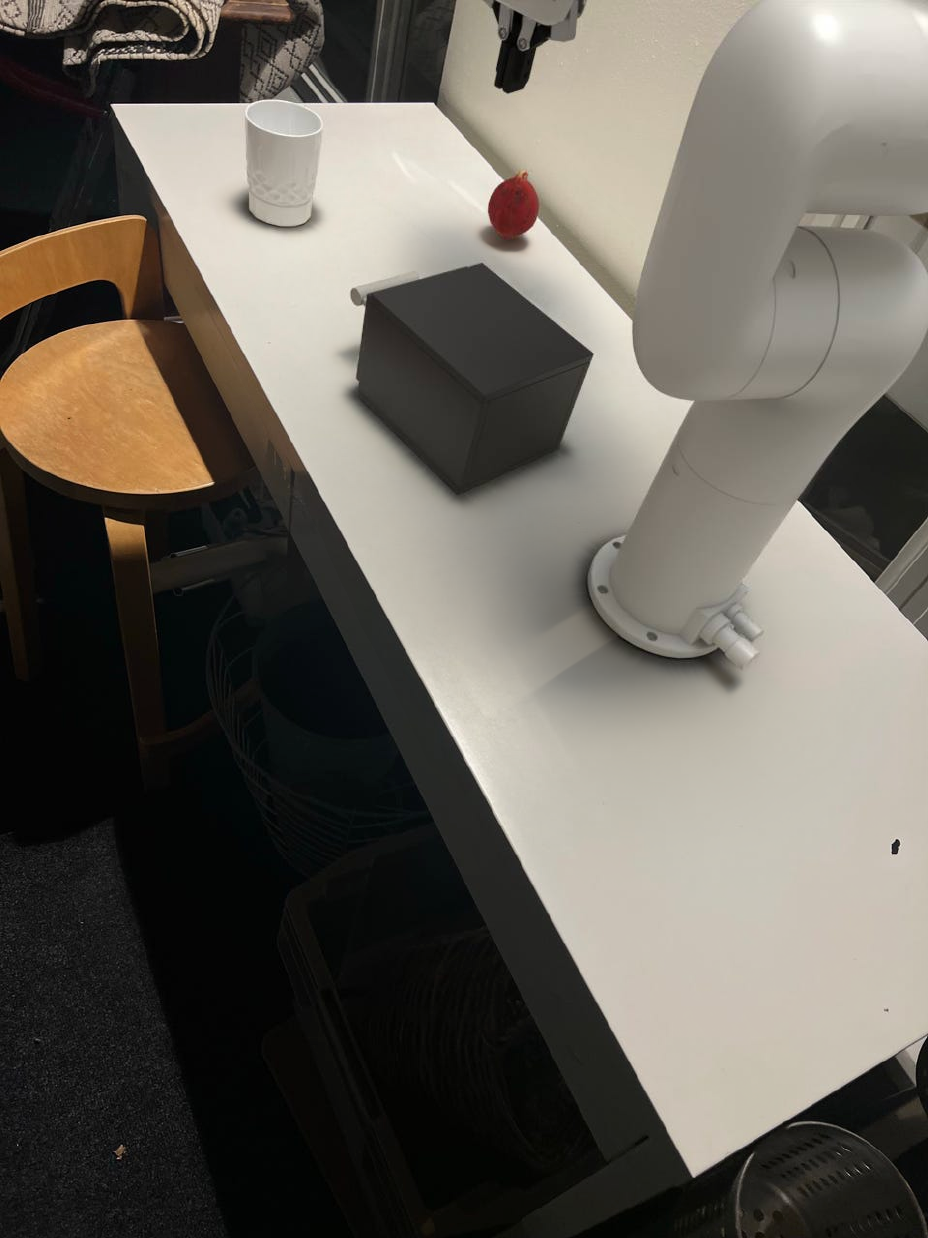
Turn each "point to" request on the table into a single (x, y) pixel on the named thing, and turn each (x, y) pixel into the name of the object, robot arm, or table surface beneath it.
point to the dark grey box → (469, 374)
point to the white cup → (282, 160)
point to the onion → (513, 206)
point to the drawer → (363, 296)
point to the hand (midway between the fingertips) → (509, 87)
